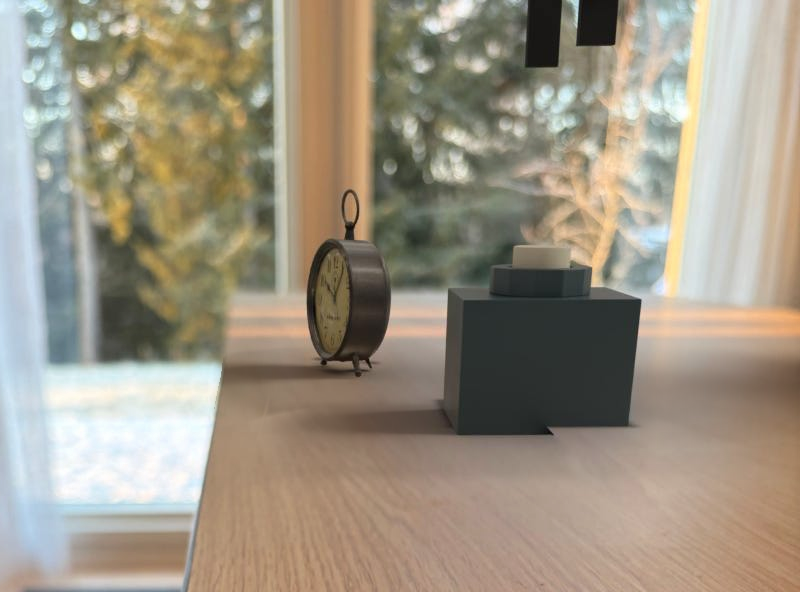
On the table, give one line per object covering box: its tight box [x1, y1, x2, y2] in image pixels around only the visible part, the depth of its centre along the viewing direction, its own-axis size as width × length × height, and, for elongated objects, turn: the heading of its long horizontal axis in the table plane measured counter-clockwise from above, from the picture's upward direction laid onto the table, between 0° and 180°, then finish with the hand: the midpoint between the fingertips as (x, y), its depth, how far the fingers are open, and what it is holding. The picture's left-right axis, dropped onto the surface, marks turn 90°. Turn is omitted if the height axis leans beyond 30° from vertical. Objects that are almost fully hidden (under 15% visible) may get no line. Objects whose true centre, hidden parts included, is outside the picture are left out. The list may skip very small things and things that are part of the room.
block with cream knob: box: [442, 263, 643, 436], centre depth 77 cm, size 12×10×11 cm
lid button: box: [512, 244, 572, 269], centre depth 75 cm, size 4×4×2 cm
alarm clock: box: [305, 188, 392, 378], centre depth 99 cm, size 11×5×16 cm, turn 22°
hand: (566, 57), depth 83 cm, fingers open, 13 cm apart
